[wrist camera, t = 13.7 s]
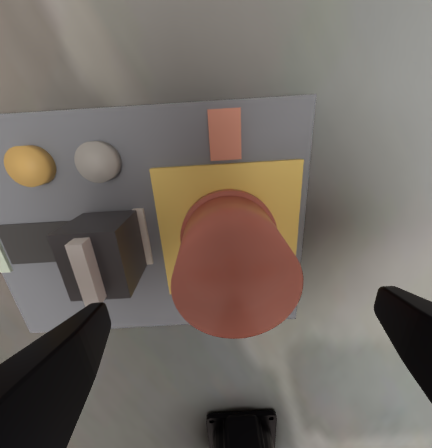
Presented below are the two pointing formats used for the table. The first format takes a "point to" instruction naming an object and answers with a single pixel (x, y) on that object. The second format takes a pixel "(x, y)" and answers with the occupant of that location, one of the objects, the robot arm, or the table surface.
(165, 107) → the panel
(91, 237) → the breaker
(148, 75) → the table surface
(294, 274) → the cap
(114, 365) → the table surface
